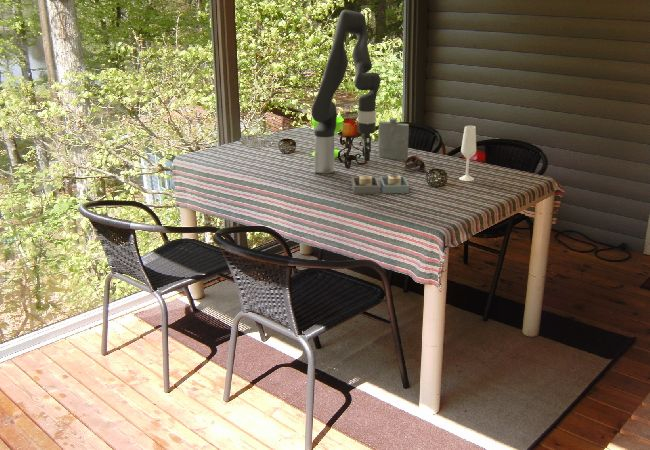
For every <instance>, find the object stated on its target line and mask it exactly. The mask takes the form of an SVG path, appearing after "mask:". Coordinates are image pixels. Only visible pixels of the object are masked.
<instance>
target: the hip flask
mask: <svg viewBox="0 0 650 450" xmlns="http://www.w3.org/2000/svg"><path fill="white" fill-rule="evenodd" d="M409 128H410V125H409V124H408V123H400V122H398V119H397V118H395V117H391V118H389V121H384V120H383V121H381V120H380V121H378V143H377V145H378V147H377V149H378V150H377V156H378V157H379V158H385V159H392V160H398V161H405V160H406V159H407V158H409V157H408V156H409V154H408V152H409V132H410V129H409Z"/></svg>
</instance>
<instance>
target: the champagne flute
mask: <svg viewBox="0 0 650 450" xmlns="http://www.w3.org/2000/svg"><path fill="white" fill-rule="evenodd" d="M460 152H461V154H462V156H464V158H466V163H465V165H466V166H465V175H462V176H461V177H459V178H458V179H459V180H460V181H464V182H472V181H474V180H475V178H473V177H472V176H471V175H470V174H469V169H470V168H469V166H470V159H471V158H472V157H474V155H475V154H476V153H477V130H476V126H475V125H465V126H464V130H463V136H462V141H461V148H460Z"/></svg>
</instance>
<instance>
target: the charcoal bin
mask: <svg viewBox="0 0 650 450" xmlns="http://www.w3.org/2000/svg"><path fill="white" fill-rule="evenodd" d="M371 178H372V186H359V176H356V177H355V176H353V177H351V187H352V190H353V195H354V194H356V195H359V194H360V195H361V194H362V195H364V194H365V195H367V194H381V186H380V181H379V180H378V178H377V176H371Z"/></svg>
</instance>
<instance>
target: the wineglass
mask: <svg viewBox="0 0 650 450" xmlns="http://www.w3.org/2000/svg"><path fill="white" fill-rule="evenodd" d="M343 121H344V122H345V120H344V118H342V117H340V116H337V118H336V129H335V132H334V135H336V134H337V133H339V131H340V130H341V129H342V128H343V126H342V125H344V122H343ZM311 122H312V126H313V128H314V129H315V128H316V127H317V125H318V122H317V121H315V120H314V119H313V118H312V119H311ZM339 151H340V149H335V148H334V159H337V158H336V157H338V152H339ZM311 155H312V156H313V157H314V151H313V152H312V154H311Z"/></svg>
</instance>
